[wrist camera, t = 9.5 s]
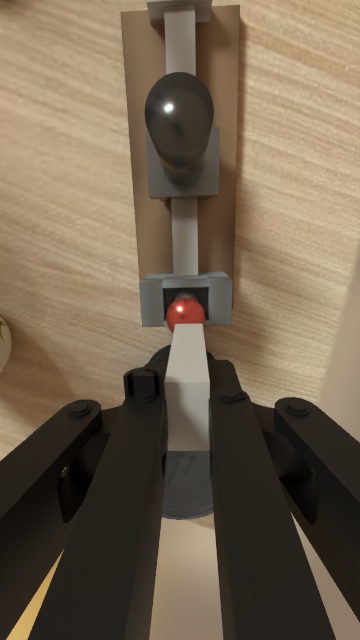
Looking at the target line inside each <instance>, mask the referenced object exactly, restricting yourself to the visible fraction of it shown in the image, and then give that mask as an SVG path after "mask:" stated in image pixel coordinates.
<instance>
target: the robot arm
mask: <svg viewBox="0 0 360 640" xmlns="http://www.w3.org/2000/svg"><path fill="white" fill-rule="evenodd" d="M123 378H124V389H125V400H124V403H123V405H121V406H118V407H115V408H111V409H106V410H101V405H100V404H99V403H98V402H97V401H94V400H85V399H84V400H78V401H75V402H72V403H70V404H68V405H66V406H65V407H63V408H62V409H60V410H59V411H58V412H57V413H56V414H55V415H53V416H52V417H51V418H50V419H49V420H48V421H46V422H45V423H44V424H43V425H42V426H41V427H40V428H38V429H37V430H36V431H35V432H34V433H33V434H31V435H30V436H29V437H28V438H27V439H26V440H24V441H23V442H22V443H21V444H20V445H19V446H17V447H16V448H15V449H14V450H13V451H12V452H10V453H9V454H8V455H7V456H6V457H5V458H3V459H2V460H1V461H0V640H6V639H7V637H8V636H9V634H10V633H11V631H12V629H13V628H14V626H15V625H16V623H17V622H18V620H19V618H20V617H21V615H22V614H23V612H24V611H25V609H26V607H27V606H28V604H29V603H30V601H31V599H32V598H33V596H34V595H35V593H36V592H37V590H38V588H39V587H40V585H41V584H42V582H43V581H44V579H45V577H46V576H47V574H48V573H49V571H50V570H51V568H52V567H53V565H54V563H55V562H56V560H57V559H58V557H59V556H60V554H61V552H62V551H63V549H64V551H63V553H62V556H61V558H60V561H59V563H58V566H57V568H56V571H55V573H54V575H53V578H52V581H51V583H50V585H49V588H48V590H47V593H46V595H45V598H44V600H43V603H42V605H41V608H40V610H39V612H38V615H37V617H36V620H35V622H34V625H33V627H32V630H31V632H30V635H29V637H28V640H149V635H150V625H151V615H152V606H153V596H154V585H155V576H156V566H157V557H158V548H159V538H160V528H161V519H162V509H163V499H164V490H165V480H166V470H167V443H168V451H210V480H211V485H212V498H213V510H214V523H215V536H216V547H217V560H218V573H219V574H218V575H219V587H220V600H221V613H222V626H223V638H224V640H336V638H335V635H334V632H333V630H332V627H331V624H330V621H329V618H328V616H327V613H326V610H325V607H324V604H323V602H322V599H321V596H320V593H319V590H318V588H317V585H316V582H315V579H314V576H313V574H312V571H311V568H310V565H309V562H308V560H307V557H306V554H305V551H304V549H303V546H302V543H301V540H300V537H299V535H298V532H297V529H296V526H295V523H294V520H293V518H292V515H291V513H292V514H293V516H294V518H295V519H296V521H297V522H298V524H299V526H300V527H301V529H302V530H303V532H304V534H305V535H306V537H307V538H308V540H309V542H310V543H311V545H312V546H313V548H314V549H315V551H316V553H317V555H318V556H319V558H320V559H321V561H322V563H323V564H324V566H325V567H326V569H327V571H328V572H329V574H330V575H331V577H332V579H333V580H334V582H335V583H336V585H337V587H338V588H339V590H340V591H341V593H342V595H343V596H344V598H345V599H346V601H347V603H348V604H349V606H350V607H351V609H352V611H353V612H354V614H355V615H356V616H357V619H358V620H359V622H360V443H359V442H358V441H357V440H356V439H355V438H353V437H352V436H351V435H350V434H349V433H347V432H346V431H345V430H344V429H343V428H342V427H340V426H339V425H338V424H337V423H336V422H335V421H333V420H332V419H331V418H330V417H329V416H328V415H326V414H325V413H324V412H323V411H322V410H321V409H319V408H318V407H317V406H316V405H314V404H313V403H311V402H309V401H306V400H304V399H301V398H296V397H287V398H282V399H279V400H278V401H277V402H276V403H275V408H269V407H264V406H260V405H257V404H254V403H252V402H251V400H250V397H249V396H248V394H247V393H246V392H244V391H242V389H241V386H240V383H239V380H238V377H237V374H236V371H235V368H234V365H233V364H232V363H231V362H230V361H228V360H207V357H206V349H205V341H204V333H203V325H202V324H175V328H174V334H173V339H172V344H171V350H170V355H169V360H168V361H150V362H149V363H147V364H146V365H145V366H144V367H141V368H136V369H132V370H130V371H128V372H126V374H125V375H124V376H123ZM65 467H66V469H65ZM64 469H65V470H64ZM63 470H64V471H63ZM290 511H291V512H290Z"/></svg>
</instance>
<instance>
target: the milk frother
mask: <svg viewBox="0 0 360 640" xmlns="http://www.w3.org/2000/svg"><path fill="white" fill-rule="evenodd" d="M170 350H171V345H168V346H166V347H164V348H162V349H160V350H159V351H158V352H157V353H155V355H154V356H153V357H152V358H151V360H150V361H168V360H169V355H170ZM206 357H207V360H215V358H214V357H213V356H212V355H211V354H210V353H209V352H208V351H207V350H206ZM150 361H149V362H150ZM213 512H214V510H213V498H212V485H211V480H210V451H168V443H167V470H166V480H165V490H164V499H163V509H162V517H164V518H168V519H176V520H182V519H194V518H199V517H204V516H207V515H209V514H211V513H213Z"/></svg>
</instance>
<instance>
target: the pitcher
mask: <svg viewBox="0 0 360 640" xmlns="http://www.w3.org/2000/svg"><path fill="white" fill-rule="evenodd" d="M11 347H12V340H11V333H10V330H9V327H8V325H7V324H6V322H5V321H4V319H3V318H2V317H1V316H0V374H1V372H2V371H3V369H4V367H5V365H6V363H7V361H8V359H9V356H10V352H11Z"/></svg>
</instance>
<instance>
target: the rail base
mask: <svg viewBox="0 0 360 640" xmlns="http://www.w3.org/2000/svg"><path fill="white" fill-rule="evenodd" d="M211 5H212V0H147V7H148V10H146V11H130V12H121V25H122V39H123V53H124V67H125V81H126V95H127V109H128V123H129V138H130V152H131V166H132V180H133V194H134V208H135V222H136V236H137V250H138V264H139V278H140V283H139V288H140V302H141V316H142V327H168V325H167V321H166V316H167V312H168V309H169V307H170V305H171V304H172V303H173V302H174V299H175V297H176V296H177V295H178V294H179V293H180V292H183V291H189V292H192V293H194V294H195V295H196V297H197V298H198V302H199V303H200V304H201V306H202V308H203V310H204V315H205V323H204V326H223V325H232V308H233V278H234V236H235V194H236V152H237V110H238V68H239V26H240V5H228V6H212V7H211ZM173 72H186V73H189V74H192V75H194V76H196V77H197V78H198V79H200V80H201V81H202V82H203V83H204V84H205V86H206V87H207V89H208V90H209V92H210V95H211V97H212V101H213V106H214V118H213V123H212V127H220V147H219V195H218V197H209V199H208V200H200V198H181V199H169V201H165V202H161V201H160V200H159V199H154V200H151V199H150V198H149V193H148V175H147V158H146V140H145V130H148V129H147V126H146V122H145V103H146V99H147V96H148V94H149V92H150V90H151V88H152V87H153V85H154V84H155V83H156V82H157V81H158V80H159V79H160V78H162V77H163V76H165V75H167V74H170V73H173Z"/></svg>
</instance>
